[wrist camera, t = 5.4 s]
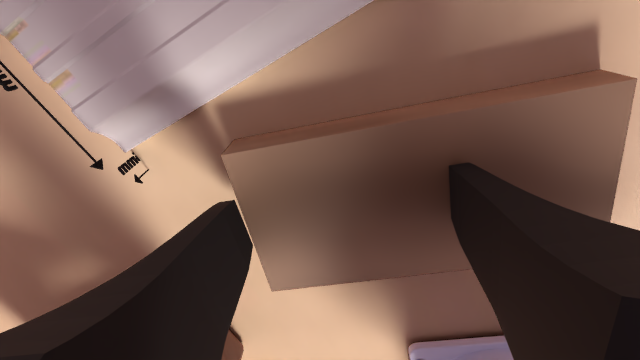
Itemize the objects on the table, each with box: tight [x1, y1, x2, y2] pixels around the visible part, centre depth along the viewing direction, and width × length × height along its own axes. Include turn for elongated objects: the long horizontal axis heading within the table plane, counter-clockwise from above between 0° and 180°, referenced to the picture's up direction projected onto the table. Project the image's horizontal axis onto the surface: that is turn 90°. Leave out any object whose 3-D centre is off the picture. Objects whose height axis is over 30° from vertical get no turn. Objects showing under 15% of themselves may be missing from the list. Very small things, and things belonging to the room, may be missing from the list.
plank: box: [221, 70, 637, 291], centre depth 12 cm, size 6×12×2 cm, turn 103°
